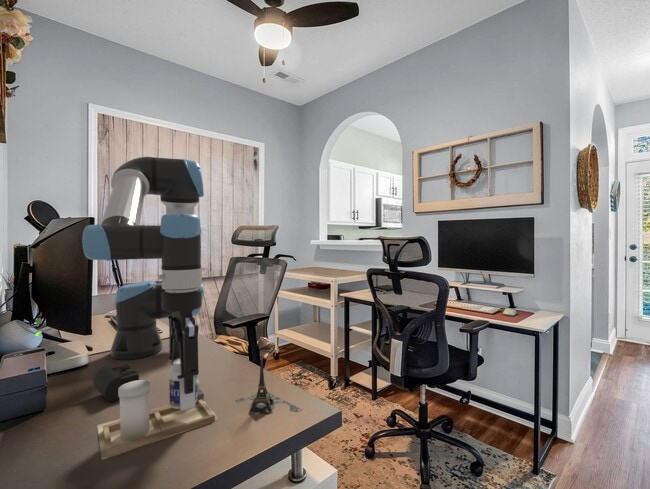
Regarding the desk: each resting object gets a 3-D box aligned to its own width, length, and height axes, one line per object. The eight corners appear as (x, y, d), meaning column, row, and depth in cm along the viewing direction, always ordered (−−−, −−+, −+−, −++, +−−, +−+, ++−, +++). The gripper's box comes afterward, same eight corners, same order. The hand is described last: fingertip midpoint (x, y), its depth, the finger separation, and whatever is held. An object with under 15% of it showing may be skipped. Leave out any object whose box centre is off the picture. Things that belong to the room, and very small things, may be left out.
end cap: (93, 396, 81) (92, 369, 81) (125, 386, 86) (125, 360, 86) (105, 410, 74) (105, 380, 74) (140, 399, 79) (139, 371, 79)
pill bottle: (163, 408, 66) (162, 364, 66) (180, 396, 71) (179, 355, 71) (187, 410, 65) (186, 365, 65) (202, 398, 70) (201, 356, 70)
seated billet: (117, 432, 64) (116, 384, 63) (148, 422, 67) (147, 377, 67) (120, 445, 59) (119, 395, 59) (153, 435, 63) (152, 387, 62)
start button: (185, 396, 76) (185, 381, 76) (197, 393, 77) (197, 378, 77) (188, 401, 74) (188, 385, 74) (200, 397, 75) (200, 382, 75)
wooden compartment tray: (97, 430, 66) (96, 415, 66) (199, 400, 78) (199, 387, 78) (101, 466, 56) (101, 448, 56) (219, 425, 68) (219, 409, 68)
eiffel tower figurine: (303, 412, 74) (303, 352, 74) (267, 432, 67) (266, 366, 66) (262, 391, 84) (261, 338, 84) (226, 406, 77) (225, 349, 76)
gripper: (153, 286, 73) (154, 390, 73) (173, 297, 58) (175, 428, 59) (188, 283, 77) (190, 381, 78) (215, 293, 63) (217, 414, 63)
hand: (183, 401), depth 68 cm, fingers closed on pill bottle, 5 cm apart
